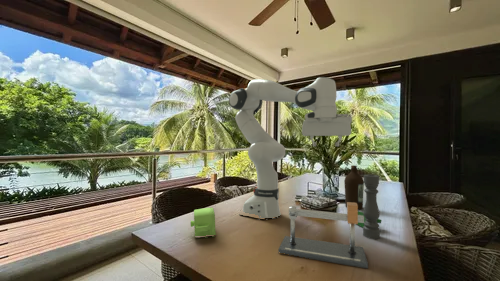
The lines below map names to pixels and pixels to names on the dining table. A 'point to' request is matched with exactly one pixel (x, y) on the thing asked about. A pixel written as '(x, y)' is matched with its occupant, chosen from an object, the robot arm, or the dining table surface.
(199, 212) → the gearbox
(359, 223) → the clamp
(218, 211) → the dining table surface
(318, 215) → the dividers frame
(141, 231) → the dining table surface
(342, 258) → the bolt plate
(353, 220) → the leg
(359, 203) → the olive oil
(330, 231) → the dining table surface
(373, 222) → the candle holder
